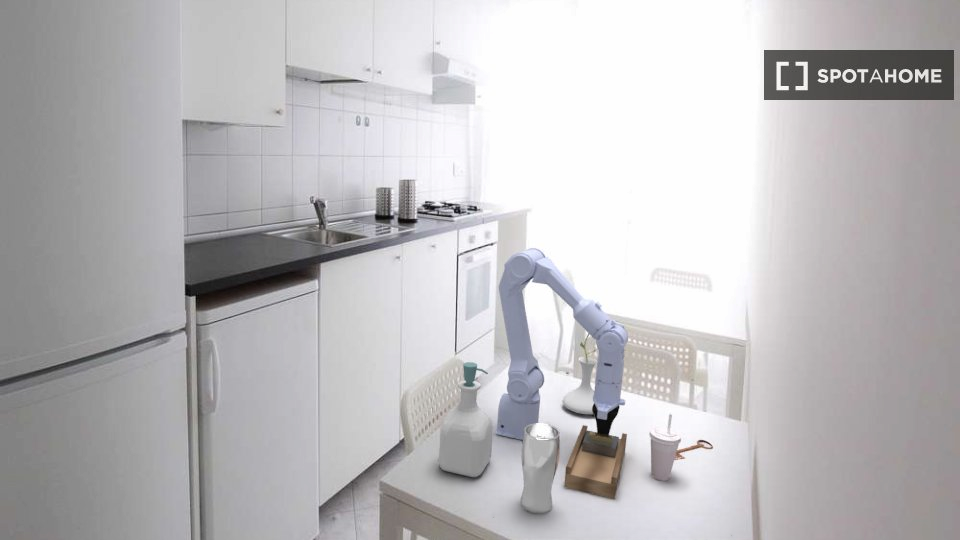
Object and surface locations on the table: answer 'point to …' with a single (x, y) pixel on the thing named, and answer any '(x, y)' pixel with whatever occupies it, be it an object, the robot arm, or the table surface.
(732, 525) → the table surface
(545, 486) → the beer glass
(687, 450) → the key
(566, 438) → the table surface
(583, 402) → the flower in vase
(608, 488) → the wooden tray
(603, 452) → the lever cap
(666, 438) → the smoothie
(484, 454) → the soap bottle
